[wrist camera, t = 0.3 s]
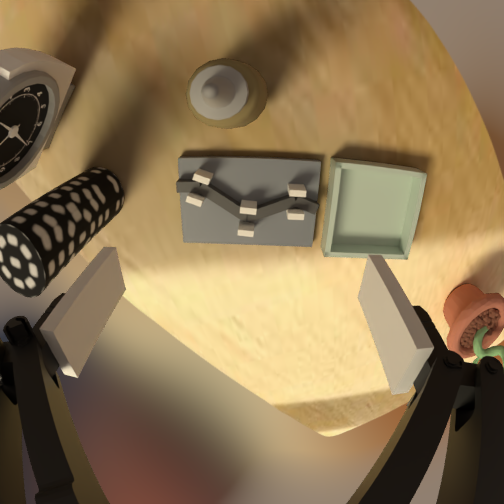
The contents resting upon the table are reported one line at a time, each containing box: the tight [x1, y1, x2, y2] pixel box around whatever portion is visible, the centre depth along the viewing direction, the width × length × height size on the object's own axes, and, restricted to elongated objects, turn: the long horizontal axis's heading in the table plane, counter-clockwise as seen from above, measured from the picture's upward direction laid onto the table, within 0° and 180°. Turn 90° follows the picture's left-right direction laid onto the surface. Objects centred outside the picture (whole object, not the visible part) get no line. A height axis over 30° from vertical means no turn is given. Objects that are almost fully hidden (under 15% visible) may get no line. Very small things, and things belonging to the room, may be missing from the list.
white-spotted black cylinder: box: [0, 167, 124, 297], centre depth 32 cm, size 8×8×20 cm
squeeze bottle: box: [186, 58, 268, 129], centre depth 26 cm, size 8×8×18 cm
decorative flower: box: [443, 284, 504, 369], centre depth 34 cm, size 15×14×30 cm
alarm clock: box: [0, 48, 76, 190], centre depth 25 cm, size 18×8×20 cm, turn 144°
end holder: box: [321, 157, 427, 260], centre depth 39 cm, size 13×13×3 cm
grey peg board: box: [176, 156, 321, 247], centre depth 39 cm, size 12×18×4 cm, turn 89°
